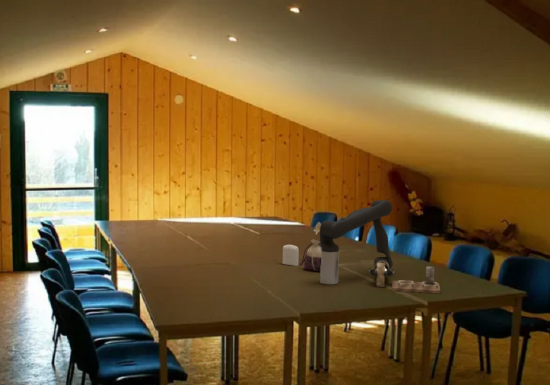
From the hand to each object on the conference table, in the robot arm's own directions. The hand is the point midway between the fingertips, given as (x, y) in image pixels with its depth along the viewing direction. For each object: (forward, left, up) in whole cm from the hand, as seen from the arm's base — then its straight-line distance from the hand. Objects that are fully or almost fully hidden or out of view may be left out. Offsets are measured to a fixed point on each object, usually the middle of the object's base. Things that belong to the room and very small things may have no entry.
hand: (380, 274), depth 321 cm
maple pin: (0, +3, -7) cm, 7 cm away
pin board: (+18, +3, -7) cm, 19 cm away
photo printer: (-57, +49, -7) cm, 75 cm away
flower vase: (-37, +64, -7) cm, 74 cm away
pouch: (-39, +34, -7) cm, 52 cm away
